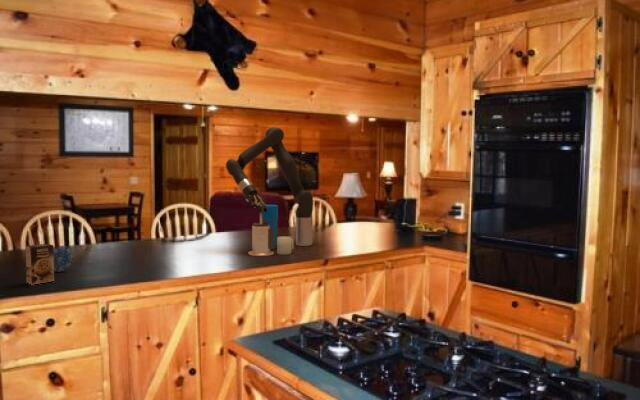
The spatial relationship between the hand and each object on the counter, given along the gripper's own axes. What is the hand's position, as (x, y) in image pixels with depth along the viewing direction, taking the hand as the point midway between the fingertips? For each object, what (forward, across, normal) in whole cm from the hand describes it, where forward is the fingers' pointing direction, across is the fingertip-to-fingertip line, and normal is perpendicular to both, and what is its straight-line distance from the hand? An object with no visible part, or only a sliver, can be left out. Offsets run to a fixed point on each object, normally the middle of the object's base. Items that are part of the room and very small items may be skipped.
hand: (263, 211), depth 297 cm
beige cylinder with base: (+15, 0, +18) cm, 24 cm away
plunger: (+11, 0, +14) cm, 18 cm away
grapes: (-13, -93, +47) cm, 105 cm away
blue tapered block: (+8, +19, +26) cm, 33 cm away
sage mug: (+22, +10, +12) cm, 27 cm away
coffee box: (-3, -108, +37) cm, 115 cm away
